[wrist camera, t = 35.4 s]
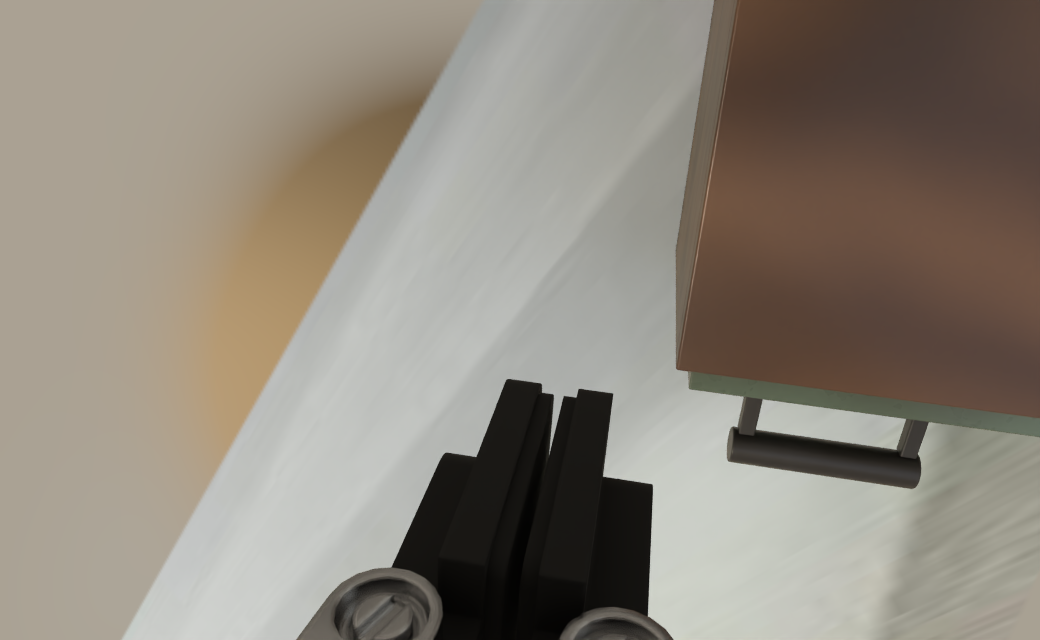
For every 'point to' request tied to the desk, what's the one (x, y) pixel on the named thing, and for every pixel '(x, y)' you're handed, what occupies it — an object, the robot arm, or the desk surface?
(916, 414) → the drawer
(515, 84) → the desk surface
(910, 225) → the cabinet
